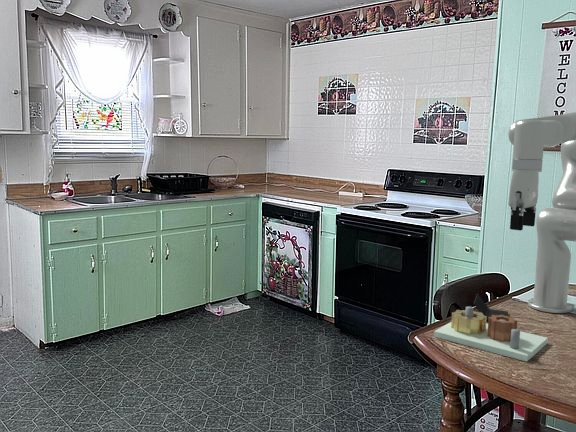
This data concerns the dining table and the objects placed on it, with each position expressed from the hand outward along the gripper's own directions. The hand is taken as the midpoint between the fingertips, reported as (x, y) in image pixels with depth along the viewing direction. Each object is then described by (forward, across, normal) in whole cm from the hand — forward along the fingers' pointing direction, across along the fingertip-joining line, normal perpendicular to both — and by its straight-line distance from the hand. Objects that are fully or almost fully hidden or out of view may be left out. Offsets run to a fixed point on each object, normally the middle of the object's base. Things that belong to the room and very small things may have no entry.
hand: (522, 227), depth 150 cm
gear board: (+28, +16, -1) cm, 33 cm away
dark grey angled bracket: (+29, -3, -8) cm, 30 cm away
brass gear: (+27, +16, -7) cm, 32 cm away
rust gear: (+27, +16, +2) cm, 31 cm away
